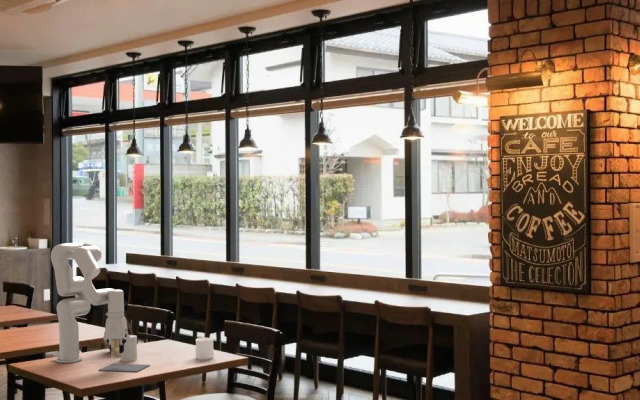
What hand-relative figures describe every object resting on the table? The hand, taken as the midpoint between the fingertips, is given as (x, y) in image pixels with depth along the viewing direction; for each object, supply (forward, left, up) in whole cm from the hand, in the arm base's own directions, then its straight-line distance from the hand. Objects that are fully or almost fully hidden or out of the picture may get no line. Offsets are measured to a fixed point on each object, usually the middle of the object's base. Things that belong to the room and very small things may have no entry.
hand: (117, 352), depth 382 cm
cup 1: (-3, +19, -8) cm, 21 cm away
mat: (+4, 0, -8) cm, 9 cm away
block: (0, 0, -2) cm, 2 cm away
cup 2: (+34, +29, -8) cm, 45 cm away
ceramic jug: (-19, +38, -8) cm, 43 cm away
